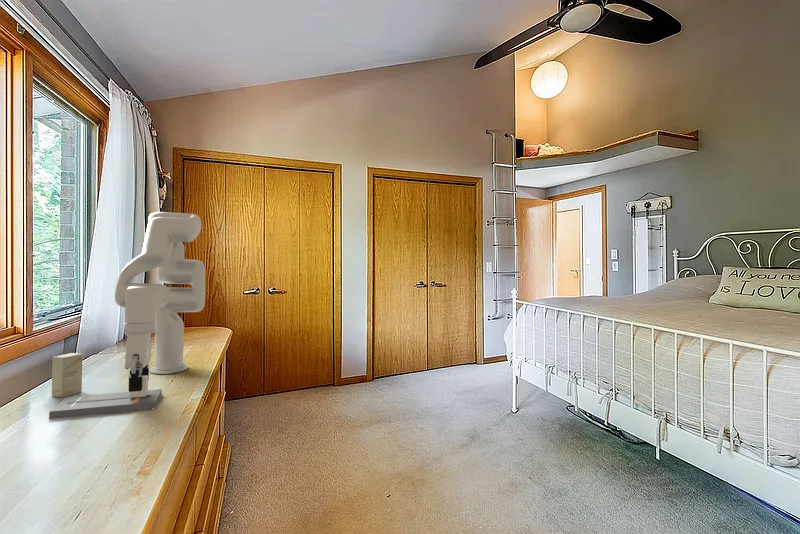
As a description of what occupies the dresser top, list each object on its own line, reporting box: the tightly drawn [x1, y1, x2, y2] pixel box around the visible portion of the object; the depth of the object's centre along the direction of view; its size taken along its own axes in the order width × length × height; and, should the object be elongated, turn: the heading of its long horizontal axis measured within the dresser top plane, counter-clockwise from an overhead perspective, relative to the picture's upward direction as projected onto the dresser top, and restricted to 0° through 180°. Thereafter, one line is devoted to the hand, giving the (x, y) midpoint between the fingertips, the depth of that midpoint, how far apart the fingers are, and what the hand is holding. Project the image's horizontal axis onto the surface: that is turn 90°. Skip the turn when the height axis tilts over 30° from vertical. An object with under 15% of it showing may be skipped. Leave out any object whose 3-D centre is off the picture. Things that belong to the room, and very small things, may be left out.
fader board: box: [48, 388, 163, 420], centre depth 116 cm, size 12×24×2 cm, turn 112°
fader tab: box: [130, 375, 149, 398], centre depth 119 cm, size 3×4×5 cm
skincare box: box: [51, 352, 83, 398], centre depth 125 cm, size 6×4×12 cm
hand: (139, 386), depth 119 cm, fingers open, 9 cm apart
